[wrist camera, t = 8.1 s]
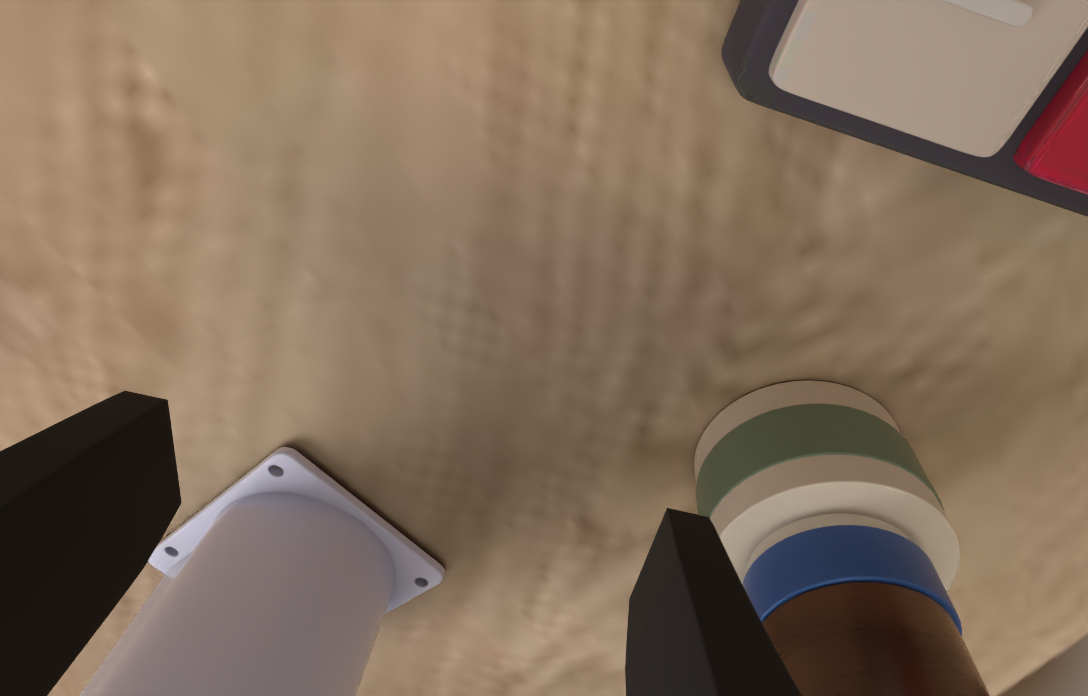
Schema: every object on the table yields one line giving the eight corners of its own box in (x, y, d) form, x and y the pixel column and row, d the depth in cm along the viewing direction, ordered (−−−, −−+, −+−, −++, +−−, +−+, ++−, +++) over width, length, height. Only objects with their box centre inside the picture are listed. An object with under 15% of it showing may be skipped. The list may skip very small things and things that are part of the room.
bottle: (762, 558, 24) (803, 746, 19) (652, 445, 22) (662, 621, 17) (940, 477, 22) (1051, 669, 16) (836, 340, 19) (921, 506, 14)
